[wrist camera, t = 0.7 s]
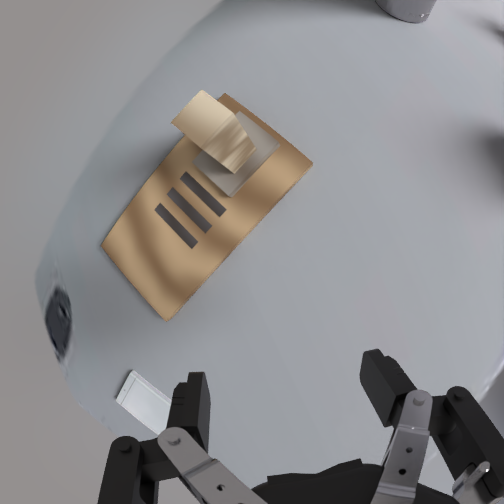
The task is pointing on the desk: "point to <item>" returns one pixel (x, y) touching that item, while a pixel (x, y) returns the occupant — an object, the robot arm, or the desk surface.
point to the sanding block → (224, 142)
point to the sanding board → (194, 219)
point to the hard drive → (145, 402)
